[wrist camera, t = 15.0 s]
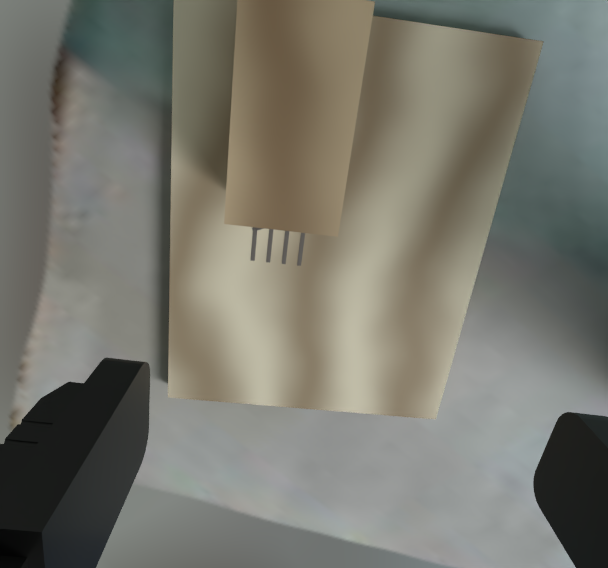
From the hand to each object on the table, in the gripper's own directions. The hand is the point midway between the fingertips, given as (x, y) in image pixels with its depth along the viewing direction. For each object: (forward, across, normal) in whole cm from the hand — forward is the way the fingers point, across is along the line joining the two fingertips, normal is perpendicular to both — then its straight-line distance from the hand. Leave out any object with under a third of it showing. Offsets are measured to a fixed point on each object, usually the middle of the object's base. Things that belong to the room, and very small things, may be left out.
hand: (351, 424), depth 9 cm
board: (+19, -1, +1) cm, 19 cm away
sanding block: (+18, +2, -5) cm, 18 cm away
